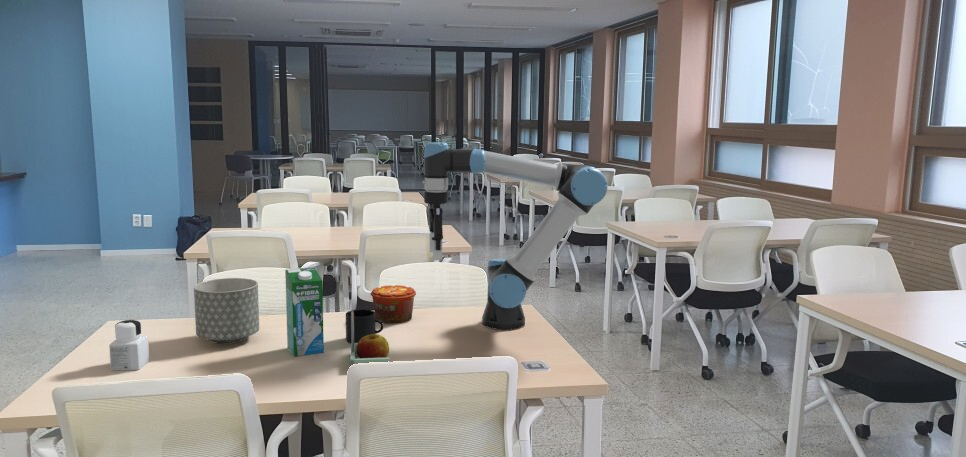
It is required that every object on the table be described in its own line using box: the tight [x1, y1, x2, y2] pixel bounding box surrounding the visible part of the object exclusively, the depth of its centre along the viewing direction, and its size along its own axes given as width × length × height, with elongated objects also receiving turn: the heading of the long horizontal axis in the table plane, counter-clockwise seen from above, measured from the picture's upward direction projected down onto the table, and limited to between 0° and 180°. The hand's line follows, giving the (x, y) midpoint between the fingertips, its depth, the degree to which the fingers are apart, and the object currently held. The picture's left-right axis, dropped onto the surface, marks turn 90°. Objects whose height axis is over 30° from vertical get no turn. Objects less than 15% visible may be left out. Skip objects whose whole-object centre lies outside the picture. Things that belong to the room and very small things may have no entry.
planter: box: [193, 277, 260, 345], centre depth 225 cm, size 19×19×18 cm
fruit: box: [356, 333, 390, 359], centre depth 208 cm, size 10×9×8 cm
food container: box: [370, 284, 417, 325], centre depth 252 cm, size 16×16×11 cm
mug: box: [345, 308, 384, 344], centre depth 228 cm, size 9×12×9 cm
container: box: [108, 319, 150, 371], centre depth 202 cm, size 8×8×13 cm
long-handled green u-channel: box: [349, 310, 391, 367], centre depth 207 cm, size 11×15×16 cm
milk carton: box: [284, 266, 325, 357], centre depth 216 cm, size 9×9×25 cm
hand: (435, 255), depth 231 cm, fingers open, 13 cm apart
